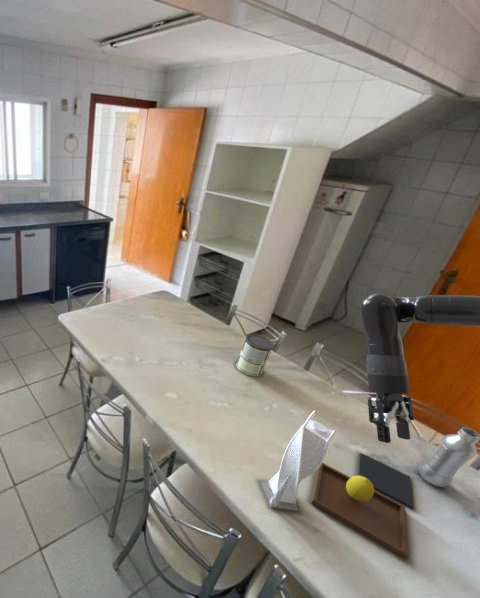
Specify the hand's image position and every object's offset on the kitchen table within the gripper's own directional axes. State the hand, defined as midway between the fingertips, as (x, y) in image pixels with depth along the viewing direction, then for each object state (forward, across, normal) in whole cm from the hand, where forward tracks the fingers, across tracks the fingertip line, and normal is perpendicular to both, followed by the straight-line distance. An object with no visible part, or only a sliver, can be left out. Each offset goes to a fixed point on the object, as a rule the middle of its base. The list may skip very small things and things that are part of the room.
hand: (394, 440), depth 80 cm
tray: (+20, +2, +11) cm, 23 cm away
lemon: (+19, +4, +13) cm, 23 cm away
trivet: (+16, +19, +13) cm, 28 cm away
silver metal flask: (+17, +33, +8) cm, 38 cm away
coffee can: (-13, +17, +56) cm, 60 cm away
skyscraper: (+18, -16, +20) cm, 31 cm away
